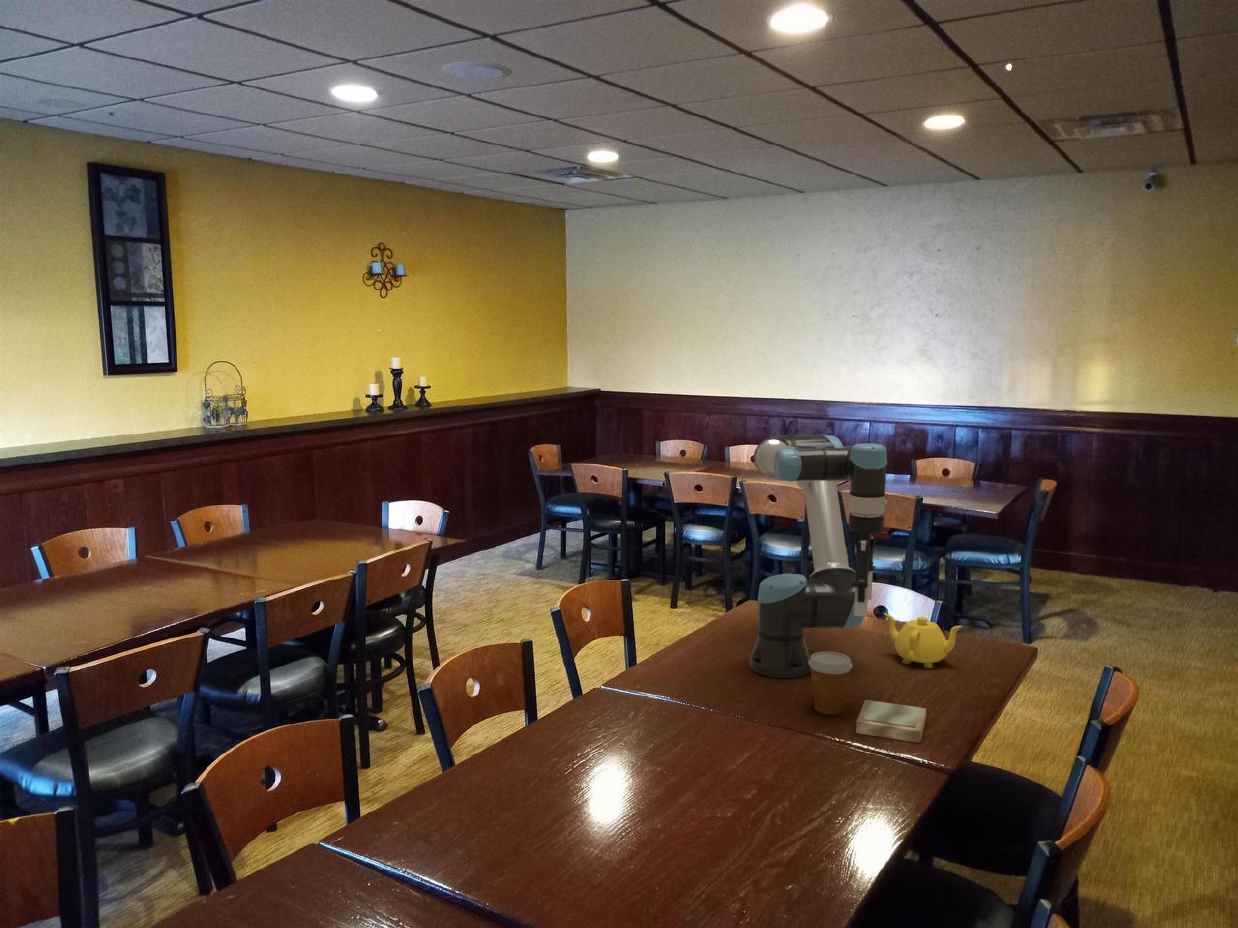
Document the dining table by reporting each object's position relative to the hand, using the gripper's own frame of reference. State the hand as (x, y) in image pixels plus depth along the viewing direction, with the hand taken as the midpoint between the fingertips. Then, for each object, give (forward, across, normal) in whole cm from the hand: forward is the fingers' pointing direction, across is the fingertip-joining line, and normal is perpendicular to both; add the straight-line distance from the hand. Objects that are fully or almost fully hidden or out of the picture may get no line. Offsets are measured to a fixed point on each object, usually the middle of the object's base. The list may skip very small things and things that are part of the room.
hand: (863, 607), depth 210 cm
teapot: (+23, +33, -12) cm, 42 cm away
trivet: (+22, -11, -8) cm, 26 cm away
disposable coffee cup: (+23, -6, +6) cm, 24 cm away
